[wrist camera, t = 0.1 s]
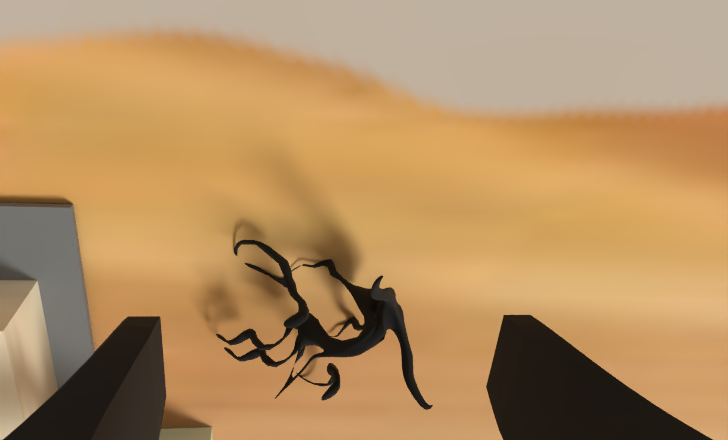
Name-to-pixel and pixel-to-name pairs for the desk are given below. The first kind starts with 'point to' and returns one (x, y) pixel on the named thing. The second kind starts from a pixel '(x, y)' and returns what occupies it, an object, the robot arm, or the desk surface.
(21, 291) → the base slab
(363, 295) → the creature
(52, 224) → the mat
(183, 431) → the pillar block
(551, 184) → the desk surface
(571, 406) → the robot arm
